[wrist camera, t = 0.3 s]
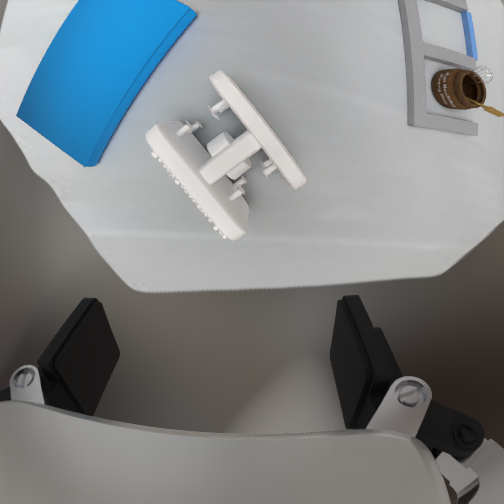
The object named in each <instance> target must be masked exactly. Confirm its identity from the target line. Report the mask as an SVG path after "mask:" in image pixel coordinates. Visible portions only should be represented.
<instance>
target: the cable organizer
mask: <svg viewBox="0 0 504 504" xmlns="http://www.w3.org/2000/svg"><path fill="white" fill-rule="evenodd" d="M209 81H210V82H211V84H212V86H213V87H214V88H215V90H216V91H217V92H218V94H219V95H220V96H221V97H222V100H221V101H219V102H218V103H217V104H216V105H214V106H213V107H212V108H211V107H210V106H209V105H208V104H207V105H208V107H209V109H210V112H211V114H212V115H213V116H214V117H216V118H217V119H218V120H219V119H220V118H219V117H218V115H217V114H216V112H218V113H220V114H221V113H222V112H223V111H225V110H226V109H227V108H229V107H230V108H231V110H232V111H233V112H234V113H235V114H236V116H237V117H238V118H239V119H240V121H241V122H242V123H243V124H244V126H245V127H246V128H247V131H245V132H244V133H243V134H241V135H240V136H238V137H237V138H236V139H233V138H232V137H231V135H230V134H228V133H227V132H226V131H223V132H222V133H220V134H219V135H218V136H216V137H215V138H214V139H213V140H211V141H210V142H209V143H207V149H208V151H209V153H210V154H211V156H212V157H211V156H210V155H209V154H208V152H207V151H206V150H205V149H204V147H203V146H202V145H201V144H200V142H199V141H198V140H197V139H196V138H195V136H194V135H193V134H192V132H193V131H196V129H197V128H198V127H200V128H201V129H202V128H203V127H202V125H201V124H200V122H198V121H197V120H196V123H195V124H194V125H191V124H190V123H188V122H187V121H186V120H185V121H186V123H187V124H186V125H183V124H182V123H181V122H179V121H177V120H175V121H165V122H157V123H156V124H155V125H153V126H152V127H151V128H150V129H149V130H148V131H147V132H146V133H145V136H146V139H147V142H148V143H149V145H150V147H151V148H152V149H153V152H152V153H151V154H152V155H153V156H154V158H157V157H159V158H158V160H159V161H160V162H161V163H164V164H163V166H164V167H165V168H168V169H167V172H169V173H170V172H171V174H170V175H171V176H172V177H173V178H175V177H176V180H175V181H174V182H175V183H176V184H177V185H179V184H181V186H180V187H182V189H184V188H185V189H184V191H185V193H186V194H189V195H188V196H189V197H188V198H190V199H191V198H192V201H193V202H194V203H197V207H198V208H199V209H200V208H201V209H200V212H203V211H204V215H205V216H206V217H209V218H208V220H209V221H210V222H213V223H214V227H213V228H214V229H215V230H216V231H218V230H219V232H220V234H222V236H223V238H224V239H226V238H229V239H230V240H232V241H235V240H237V239H238V238H240V237H241V236H243V235H244V234H246V233H247V230H248V219H249V207H248V204H247V202H246V201H245V199H244V198H243V196H242V195H241V194H244V193H246V192H245V191H244V190H243V188H242V187H241V185H242V184H244V183H246V182H247V181H246V180H245V178H244V177H243V176H241V175H242V174H243V173H244V172H245V171H247V170H248V169H249V168H250V167H252V164H251V162H250V160H249V159H248V158H249V157H250V156H252V155H253V154H254V153H256V152H257V151H259V150H260V149H261V148H262V149H263V150H264V151H265V153H266V154H267V155H268V157H269V159H268V160H266V161H265V162H264V163H262V162H261V161H260V162H261V164H262V166H263V167H264V168H265V170H263V169H261V168H260V169H261V171H262V173H263V174H264V175H265V176H266V177H267V179H268V176H267V175H269V174H270V173H272V172H273V171H274V170H276V169H278V170H279V171H280V173H281V174H282V175H283V177H284V178H285V179H286V180H287V182H288V183H289V184H290V185H291V186H292V187H293V188H294V189H297V188H299V187H300V186H302V185H303V184H305V183H306V182H307V180H306V177H305V175H304V174H303V172H302V170H301V169H300V167H299V165H298V164H297V163H296V161H295V160H294V158H293V157H292V156H291V154H290V153H289V151H288V150H287V149H286V147H285V146H284V145H283V143H282V142H281V141H280V139H279V138H278V137H277V135H276V134H275V133H274V131H273V130H272V129H271V127H270V126H269V125H268V123H267V122H266V121H265V120H264V118H263V117H262V116H261V114H260V113H259V112H258V111H257V109H256V108H255V107H254V106H253V104H252V103H251V102H250V101H249V99H248V98H247V97H246V96H245V94H244V93H243V92H242V91H241V90H240V88H239V87H238V86H237V85H236V84H235V82H234V81H233V80H232V79H231V78H230V77H229V76H228V75H227V74H226V73H225V72H224V71H222V70H221V69H219V70H218V71H216V72H215V73H213V74H212V75H211V76H209ZM220 120H221V119H220ZM272 163H273V164H272ZM270 164H272V165H270ZM269 165H270V166H269ZM267 166H269V167H268V168H266V167H267ZM259 167H260V166H259ZM170 175H169V176H170ZM226 175H227V176H228V177H230V178H231V179H233V180H236V179H237V178H238V177H239V176H241V177H242V178H241V179H240V180H239V181H237V182H236V183H235V184H233V183H232V182H231V181H230V180H229V178H228V177H227V176H226ZM268 180H269V179H268ZM246 185H247V184H246ZM238 187H239V189H237V188H238ZM244 196H245V194H244Z"/></svg>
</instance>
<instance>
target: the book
mask: <svg viewBox="0 0 504 504" xmlns="http://www.w3.org/2000/svg"><path fill="white" fill-rule="evenodd" d="M196 16H197V14H196V13H195V11H193V10H192V9H191V8H190V7H188V6H187V5H185V4H183V3H180V2H178V1H176V0H79V1H78V2H77V4H76V5H75V7H74V8H73V9H72V11H71V12H70V14H69V15H68V17H67V18H66V20H65V21H64V23H63V24H62V26H61V28H60V29H59V31H58V32H57V34H56V36H55V37H54V39H53V41H52V42H51V44H50V46H49V48H48V49H47V51H46V53H45V55H44V57H43V59H42V60H41V62H40V64H39V66H38V68H37V70H36V72H35V74H34V76H33V78H32V80H31V83H30V85H29V87H28V89H27V91H26V94H25V96H24V98H23V101H22V103H21V105H20V108H19V110H18V113H17V115H16V116H17V117H19V118H20V119H21V120H23V121H24V122H25V123H27V124H28V125H29V126H30V127H32V128H33V129H34V130H36V131H37V132H38V133H40V134H41V135H42V136H44V137H45V138H46V139H48V140H49V141H50V142H52V143H53V144H54V145H56V146H57V147H58V148H60V149H61V150H62V151H64V152H65V153H67V154H68V155H69V156H71V157H72V158H73V159H75V160H76V161H77V162H79V163H80V164H81V165H83V166H84V167H86V166H88V167H93V166H95V165H96V164H97V162H98V161H99V159H100V157H101V155H102V153H103V151H104V149H105V147H106V145H107V143H108V142H109V140H110V138H111V136H112V134H113V133H114V131H115V129H116V127H117V126H118V124H119V122H120V121H121V119H122V117H123V116H124V114H125V112H126V111H127V109H128V107H129V106H130V104H131V103H132V101H133V99H134V98H135V96H136V95H137V93H138V92H139V90H140V89H141V87H142V86H143V84H144V83H145V81H146V80H147V78H148V77H149V75H150V74H151V73H152V71H153V70H154V68H155V67H156V66H157V64H158V63H159V61H160V60H161V59H162V57H163V56H164V55H165V53H166V52H167V51H168V50H169V48H170V47H171V46H172V44H173V43H174V42H175V41H176V39H177V38H178V37H179V36H180V34H181V33H182V32H183V31H184V30H185V28H186V27H187V26H188V25H189V24H190V22H191V21H192V20H193V19H194V18H195V17H196Z"/></svg>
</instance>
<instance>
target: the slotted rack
mask: <svg viewBox="0 0 504 504" xmlns="http://www.w3.org/2000/svg"><path fill="white" fill-rule="evenodd" d="M426 1H429V2H432V3H435V4H438V5H441V6H444V7H447V8H450V9H452V10H455V11H458V12H460V13H461V15H462V20H463V26H464V33H465V40H466V47H467V55H464V54H461V53H458V52H455V51H452V50H449V49H446V48H442V47H439V46H435V45H432V44H428V43H424V42H422V34H421V27H420V20H419V13H418V8H417V2H416V0H398V3H399V9H400V16H401V23H402V31H403V39H404V49H405V61H406V75H407V100H408V125H412V126H419V127H427V128H433V129H440V130H446V131H452V132H458V133H463V134H468V135H473V136H478V124H477V123H473V122H469V121H464V120H460V119H455V118H450V117H445V116H439V115H434V114H428V113H426V80H425V64H424V59H429V60H433V61H437V62H440V63H444V64H448V65H451V66H455V67H458V68H461V69H465V70H470V71H472V70H473V71H474V70H475V69H476V62H475V60H478V57H477V49H476V41H475V34H474V28H473V22H472V17H471V13H469V12H467V11H468V8H467V4H466V0H426Z"/></svg>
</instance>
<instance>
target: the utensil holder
mask: <svg viewBox="0 0 504 504" xmlns="http://www.w3.org/2000/svg"><path fill="white" fill-rule="evenodd" d="M479 67H480V66H479ZM476 68H477V67H476ZM486 68H487V67H486ZM486 68H485V70H486ZM477 69H479V68H477ZM481 69H482V70H483V68H481ZM475 70H476V69H475ZM480 71H481V70H480ZM478 72H479V71H478ZM478 72H477V73H478ZM477 73H475V72H473V70H472V71H470V70H463V69H447V70H442V71H439V72H437V73H436V74H435V75H434V77H433V80H432V91H433V94H434V96H435V98H436V99H437V101H438V102H439V103H440V104H441V105H443V106H445V107H447V108H451V109H463V110H466V109H471V108H477V107H480V106H481V107H483V108H484V110H485V111H487V112H489V113H492V114H494V115H496V116H498V117H500V116H502V117H503V116H504V114H503V113H502V112H500V111H498V110H496V109H494V108H492V107H488V106H485V105H483V103H484V102H485V99H486V88H485V84H484V83H485V82H483V81H484V80H482V79H481V77H480V76H479V75H480V74H479V75H478V74H477ZM488 73H490V74H492V73H491V72H489V70H488ZM482 74H484V73H482ZM490 74H489V75H490ZM489 75H488V76H489ZM486 76H487V75H486ZM483 77H485V76H483ZM492 79H493V76H492ZM490 81H491V75H490ZM490 81H489V82H490ZM487 82H488V81H487ZM489 82H488V83H489ZM486 84H487V83H486Z"/></svg>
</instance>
